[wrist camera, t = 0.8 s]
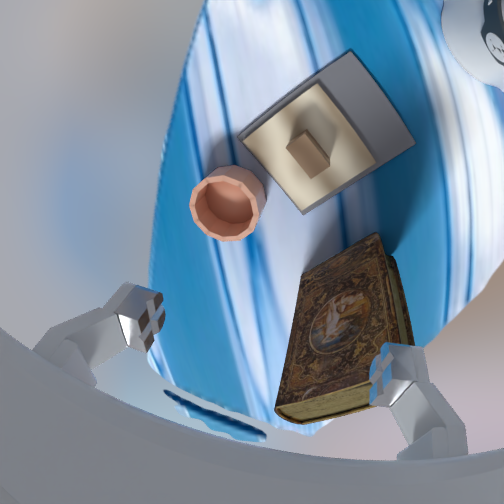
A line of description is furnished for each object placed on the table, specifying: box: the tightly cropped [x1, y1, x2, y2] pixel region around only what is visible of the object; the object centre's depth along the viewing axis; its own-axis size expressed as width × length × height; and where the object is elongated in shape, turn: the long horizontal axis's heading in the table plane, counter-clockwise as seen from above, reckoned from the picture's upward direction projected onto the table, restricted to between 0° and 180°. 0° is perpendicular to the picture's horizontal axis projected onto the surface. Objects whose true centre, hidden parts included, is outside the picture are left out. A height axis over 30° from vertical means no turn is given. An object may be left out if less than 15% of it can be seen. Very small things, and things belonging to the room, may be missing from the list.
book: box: [274, 232, 415, 425], centre depth 37 cm, size 16×6×25 cm, turn 134°
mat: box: [237, 51, 416, 215], centre depth 36 cm, size 20×15×1 cm
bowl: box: [189, 165, 266, 242], centre depth 43 cm, size 10×10×5 cm
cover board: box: [243, 84, 376, 211], centre depth 35 cm, size 13×13×5 cm
